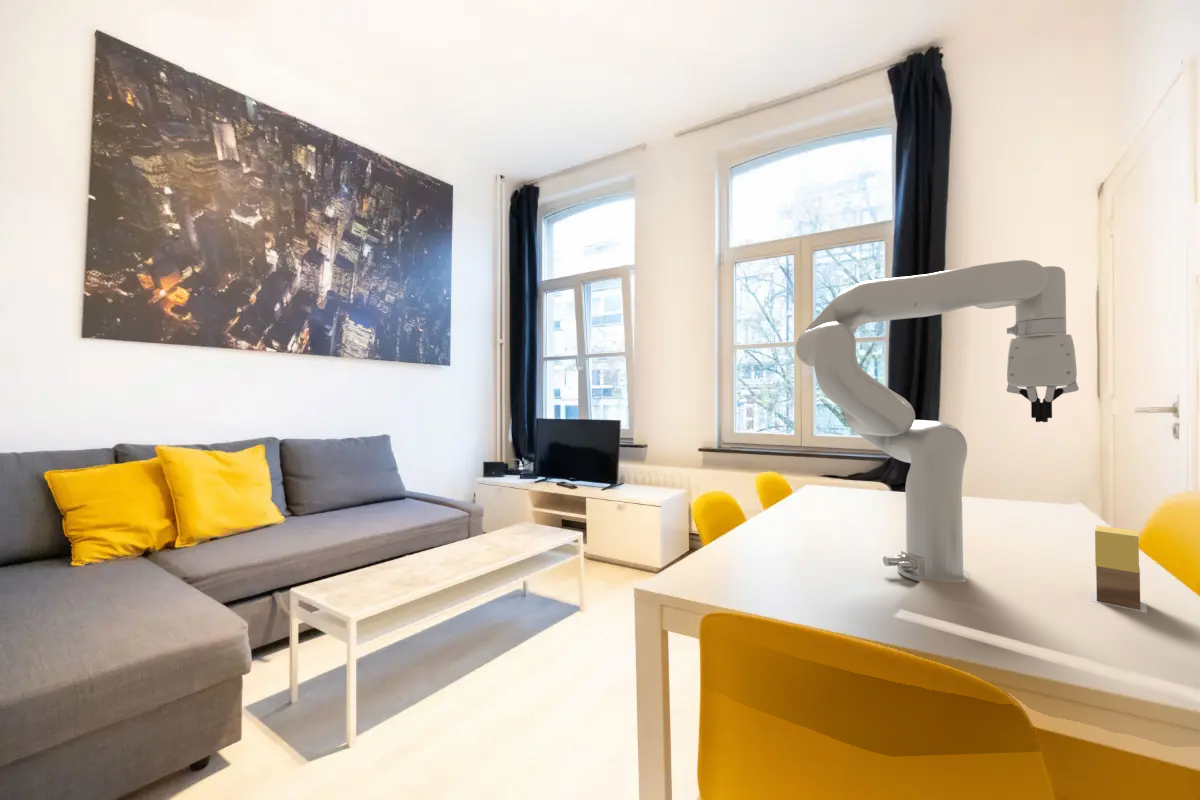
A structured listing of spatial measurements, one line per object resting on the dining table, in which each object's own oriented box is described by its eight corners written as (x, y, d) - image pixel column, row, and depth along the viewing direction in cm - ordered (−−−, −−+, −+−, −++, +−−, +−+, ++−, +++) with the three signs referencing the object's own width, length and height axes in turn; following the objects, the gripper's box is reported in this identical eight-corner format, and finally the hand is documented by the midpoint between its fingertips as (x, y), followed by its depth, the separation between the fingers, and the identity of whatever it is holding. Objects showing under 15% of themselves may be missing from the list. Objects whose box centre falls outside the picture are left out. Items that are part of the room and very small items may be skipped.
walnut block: (1140, 609, 80) (1139, 573, 80) (1096, 601, 84) (1096, 565, 84) (1139, 601, 83) (1139, 565, 83) (1097, 592, 87) (1097, 559, 87)
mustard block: (1139, 573, 80) (1138, 536, 80) (1095, 565, 84) (1095, 530, 84) (1138, 565, 83) (1138, 530, 83) (1096, 559, 87) (1096, 525, 87)
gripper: (989, 333, 101) (991, 421, 101) (1092, 324, 90) (1093, 423, 90) (996, 335, 106) (997, 420, 106) (1094, 327, 95) (1095, 422, 95)
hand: (1041, 421), depth 98 cm, fingers closed
